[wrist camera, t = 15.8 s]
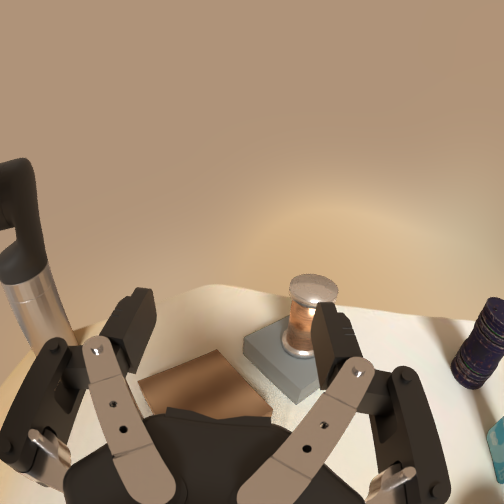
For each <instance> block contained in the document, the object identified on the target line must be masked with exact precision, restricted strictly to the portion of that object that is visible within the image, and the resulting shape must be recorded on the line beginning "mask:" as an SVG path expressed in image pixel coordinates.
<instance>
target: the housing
mask: <svg viewBox="0 0 504 504" xmlns="http://www.w3.org/2000/svg"><path fill="white" fill-rule="evenodd" d="M337 294H338V287H337V285H335V283H334V282H333V281H332V280H330V279H328V278H326V277H324V276H320V275H316V274H303V275H299V276H296V277H295V278H293V279H292V281H291V283H290V289H289V295H290V297H291V298H292V304H291V311H290V317H289V323H288V329H286V330H285V331H284V333H283V335H282V341H281V345H282V348H283V350H284V351H285V352H286V353H287V354H288V355H290V356H291V357H294V358H297V359H304V360H305V359H311V358H314V352H313V346H312V341H311V334H310V331H311V324H312V320H313V317H314V313H315V309H316V305H317V303H318V302H333V303H335V301H336V298H337Z"/></svg>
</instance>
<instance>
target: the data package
mask: <svg viewBox="0 0 504 504" xmlns="http://www.w3.org/2000/svg"><path fill="white" fill-rule="evenodd" d="M487 441H488V445H489V448H490V452H491V456H492V459H493V463H494V468H495V472H496V477H497V481H498V482H499V483H500V484H504V416H503V417H502V418H501V419H500V420H499V421H498V422H497V423H496V424H495V425H494V426H493V427H492V428H491V429H490V430H489V432H488V434H487Z"/></svg>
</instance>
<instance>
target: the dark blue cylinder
mask: <svg viewBox="0 0 504 504" xmlns="http://www.w3.org/2000/svg"><path fill="white" fill-rule="evenodd" d="M503 356H504V300H502V299H500V298H497V297H490V298H488V300H487V302H486V304H485V306H484V308H483V310H482V311H481V313H480V315H479V316H478V319H477V320H476V322H475V324H474V329H473V330H472V332H471V334H470V335H469V337H468V338H467V339H466V340H465V341H464V343H463V344H462V346H461V347H460V349H459V351H458V352H457V354H456V357H455V358H454V359H453V361H452V363H451V371H452V374H453V376H454V378H455V379H456V380H457V382H458V383H459V384H461V385H462V386H464V387H465V388H468V389H473V390H474V389H478V388H480V387H481V386H482V385H483V384H484V383H485V381H486V380H487V379H488V378H489V377H490V376H491V375H492V373H493V372H494V370H495V369H496V368H497V366H498V363H499V361H500V360H501V359H502V357H503Z"/></svg>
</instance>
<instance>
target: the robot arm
mask: <svg viewBox="0 0 504 504" xmlns="http://www.w3.org/2000/svg"><path fill="white" fill-rule="evenodd" d="M37 201H38V200H37V190H36V181H35V175H34V171H33V167H32V165H31V163H30V161H29V160H28V159H26V158H19V159H14V160H10V161H7V162H4V163H0V230H5V229H8V228H13V227H15V230H16V237H17V240H16V241H15V242H14V243H12V244H11V245H10V246H9V247H7V248H6V249H5V250H4V251H3V252H2V253H1V254H0V281H1V284H2V287H3V289H4V292H5V294H6V297H7V299H8V301H9V304H10V306H11V308H12V310H13V313H14V315H15V317H16V319H17V321H18V323H19V325H20V327H21V329H22V331H23V333H24V335H25V337H26V339H27V341H28V343H29V344H30V346H31V348H32V350H33V352H34V354H35V355H36V359H35V361H34V362H33V364H32V366H31V368H30V370H29V371H28V373H27V375H26V377H25V379H24V381H23V383H22V385H21V387H20V389H19V391H18V393H17V395H16V397H15V399H14V401H13V403H12V405H11V407H10V410H9V412H8V414H7V416H6V419H5V421H4V423H3V426H2V428H1V431H0V459H1V460H2V461H3V462H5V463H6V464H7V465H9V466H10V467H12V468H13V469H14V470H15V471H17V472H18V473H20V474H22V475H23V476H25V477H26V478H28V479H30V480H32V481H34V482H36V483H38V484H40V485H42V486H44V487H51V488H53V489H55V490H58V491H60V492H62V493H64V497H65V500H66V504H445V503H446V502H447V500H448V499H449V497H450V494H451V484H450V479H449V475H448V470H447V466H446V462H445V458H444V454H443V450H442V446H441V442H440V439H439V435H438V432H437V429H436V425H435V422H434V419H433V416H432V413H431V410H430V407H429V404H428V401H427V398H426V395H425V392H424V389H423V387H422V384H421V381H420V379H419V376H418V374H417V373H416V372H415V371H414V370H413V369H412V368H410V367H407V366H399V367H397V368H395V369H394V370H393V372H392V373H390V372H385V371H380V370H376V369H374V367H373V365H372V363H371V362H370V361H368V360H367V359H365V358H363V356H362V353H361V350H360V347H359V344H358V342H357V339H356V336H355V335H354V334H355V333H354V331H353V329H352V325H351V323H350V320H349V319H348V318H347V316H346V315H345V314H344V313H337V310H336V307H335V304H334V303H333V302H318V303H317V305H316V309H315V313H314V317H313V320H312V324H311V331H310V334H311V341H312V346H313V352H314V357H315V362H316V368H317V373H318V379H319V384H320V390H326V392H323V394H322V395H321V396H320V397H319V399H318V400H317V402H316V403H315V404H314V406H313V407H312V408H311V410H310V411H309V412H308V414H307V415H306V416H305V417H304V419H303V420H302V421H301V422H300V424H299V425H298V426H297V427H296V429H295V430H294V431H293V432H291V431H289V430H287V429H286V428H283V427H281V426H279V425H276V424H272V423H271V417H262V416H240V417H233V418H226V419H214V418H211V417H208V416H205V415H203V414H200V413H197V412H194V411H191V410H184V409H178V408H172V407H167V409H166V413H161V414H156V415H152V416H149V417H146V418H143V416H142V414H141V412H140V410H139V408H138V406H137V403H136V401H135V399H134V397H133V395H132V392H131V390H130V388H129V385H128V383H127V381H126V378H125V377H126V375H127V373H128V372H129V373H133V374H136V371H137V369H138V366H139V364H140V361H141V358H142V356H143V353H144V351H145V348H146V346H147V344H148V341H149V339H150V336H151V334H152V331H153V329H154V327H155V324H156V318H157V314H156V308H155V302H154V297H153V291H152V290H151V289H147V288H139V287H137V288H136V289H135V290H134V292H133V294H132V295H131V297H130V296H126V297H125V298H123V299H122V300H121V301H120V302H119V303H118V304H117V306H116V308H115V310H114V311H113V313H112V315H111V316H110V317H109V319H108V321H107V322H106V324H105V326H104V327H103V329H102V331H101V332H100V334H99V336H94V337H91V338H89V339H88V340H87V341H86V342H85V343H84V344H83V345H79V346H78V342H77V340H76V338H75V335H74V333H73V331H72V328H71V326H70V324H69V321H68V319H67V316H66V314H65V311H64V308H63V306H62V303H61V300H60V297H59V294H58V292H57V288H56V285H55V282H54V279H53V276H52V273H51V270H50V266H49V262H48V259H47V255H46V251H45V245H44V239H43V234H42V229H41V224H40V217H39V210H38V202H37ZM58 382H59V383H58ZM86 389H89V391H90V394H91V397H92V401H93V404H94V407H95V410H96V413H97V416H98V419H99V422H100V425H101V428H102V430H103V433H104V436H105V438H106V441H107V444H105V445H103V446H102V447H100V448H99V449H97V450H96V451H94V452H92V453H91V454H89V455H88V456H86V457H84V458H83V459H81V460H79V461H78V462H76V463H74V464H73V465H72V466H71V454H70V450H69V448H68V447H67V442H68V439H69V436H70V433H71V430H72V427H73V424H74V421H75V418H76V415H77V412H78V410H79V407H80V404H81V402H82V399H83V396H84V394H85V391H86ZM356 412H359V413H365V414H369V418H370V423H371V429H372V434H373V440H374V446H375V452H376V459H377V466H378V473H379V474H378V475H377V476H375V477H374V478H373V479H372V481H371V483H370V486H369V494H368V496H367V498H366V499H365V500H364V499H363V498H362V497H361V496H360V495H359V494H358V493H357V492H356V491H355V490H354V489H352V488H351V487H350V486H349V485H348V484H347V483H346V482H344V481H343V480H342V479H341V478H340V477H339V476H338V475H337V474H335V473H334V472H333V471H332V470H331V469H330V468H329V467H328V466H327V465H326V464H325V463H324V462H325V461H326V459H327V458H328V456H329V455H330V453H331V452H332V450H333V449H334V447H335V446H336V444H337V443H338V441H339V440H340V438H341V436H342V435H343V433H344V432H345V430H346V428H347V427H348V425H349V423H350V422H351V420H352V418H353V416H354V415H355V413H356Z"/></svg>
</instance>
